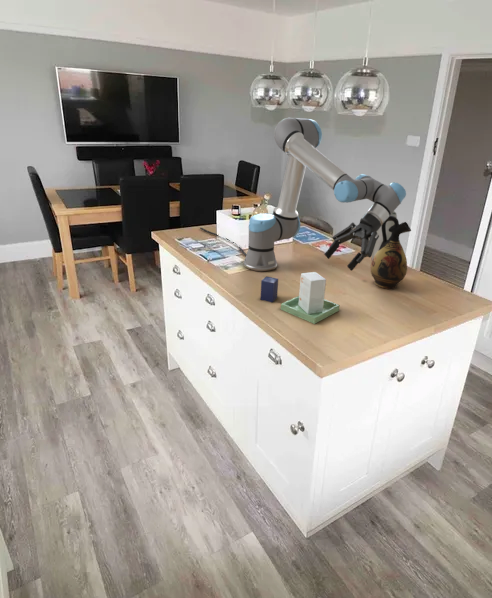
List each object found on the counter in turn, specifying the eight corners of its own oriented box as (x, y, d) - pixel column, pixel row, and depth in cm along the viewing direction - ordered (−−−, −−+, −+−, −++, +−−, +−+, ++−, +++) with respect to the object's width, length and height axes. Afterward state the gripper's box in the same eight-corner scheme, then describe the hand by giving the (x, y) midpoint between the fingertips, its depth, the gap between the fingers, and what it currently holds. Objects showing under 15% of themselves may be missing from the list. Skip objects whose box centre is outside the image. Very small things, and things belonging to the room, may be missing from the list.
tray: (280, 309, 153) (280, 303, 152) (306, 297, 165) (306, 292, 164) (314, 324, 145) (315, 318, 144) (339, 310, 156) (339, 305, 155)
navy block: (260, 299, 160) (261, 280, 156) (265, 295, 164) (266, 276, 161) (272, 302, 158) (273, 283, 155) (277, 297, 163) (278, 278, 159)
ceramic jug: (407, 283, 186) (420, 217, 174) (398, 294, 174) (411, 224, 161) (371, 274, 193) (381, 210, 181) (359, 285, 181) (370, 216, 168)
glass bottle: (382, 262, 210) (391, 207, 198) (394, 269, 202) (405, 212, 190) (366, 264, 206) (374, 207, 194) (378, 271, 198) (388, 213, 186)
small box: (323, 312, 153) (326, 279, 147) (307, 314, 150) (311, 281, 145) (312, 303, 159) (315, 271, 154) (297, 305, 156) (300, 273, 151)
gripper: (402, 234, 148) (364, 279, 146) (356, 217, 166) (322, 257, 165) (394, 220, 143) (355, 267, 141) (347, 205, 161) (312, 246, 160)
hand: (337, 262), depth 153 cm, fingers open, 13 cm apart
